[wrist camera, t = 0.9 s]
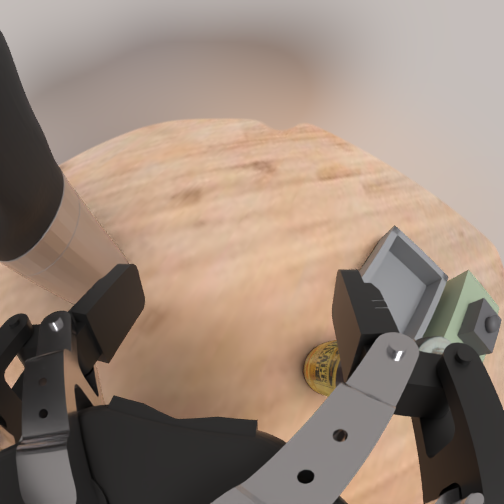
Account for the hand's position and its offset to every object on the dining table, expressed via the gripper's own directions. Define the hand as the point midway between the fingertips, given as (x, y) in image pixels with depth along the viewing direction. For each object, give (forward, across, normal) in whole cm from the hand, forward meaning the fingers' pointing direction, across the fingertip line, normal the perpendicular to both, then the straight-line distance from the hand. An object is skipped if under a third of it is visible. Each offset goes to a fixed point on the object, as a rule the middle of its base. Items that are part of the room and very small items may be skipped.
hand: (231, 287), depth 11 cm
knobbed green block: (+19, -21, +17) cm, 33 cm away
